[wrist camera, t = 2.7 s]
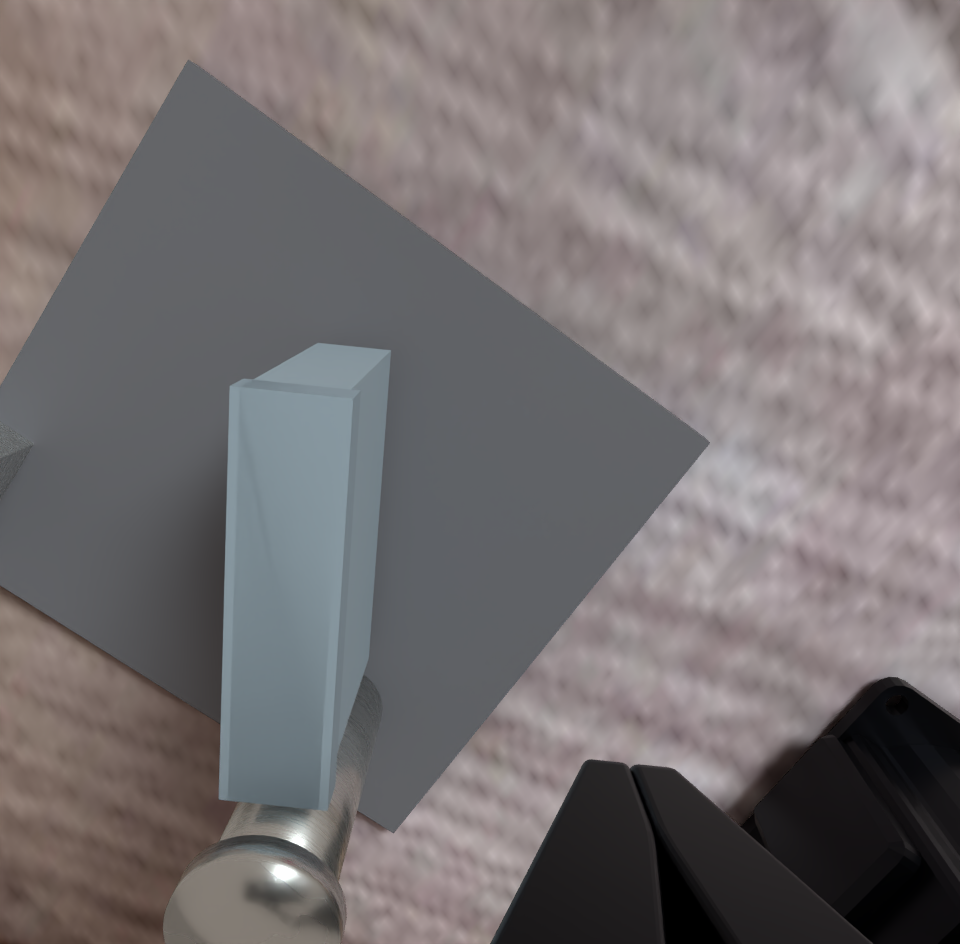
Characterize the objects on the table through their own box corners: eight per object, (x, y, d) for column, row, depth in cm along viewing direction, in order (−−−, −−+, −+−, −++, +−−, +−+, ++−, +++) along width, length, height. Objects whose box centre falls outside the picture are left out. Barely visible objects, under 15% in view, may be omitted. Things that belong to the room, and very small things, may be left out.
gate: (375, 658, 20) (327, 811, 15) (295, 650, 20) (218, 799, 15) (397, 350, 18) (352, 398, 13) (310, 341, 18) (229, 386, 13)
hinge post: (420, 685, 21) (374, 922, 14) (355, 769, 22) (278, 1036, 15) (322, 620, 21) (222, 828, 14) (259, 707, 22) (130, 950, 14)
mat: (704, 438, 20) (710, 442, 19) (395, 820, 22) (393, 833, 22) (196, 64, 18) (188, 59, 18) (-70, 525, 21) (-84, 532, 20)
